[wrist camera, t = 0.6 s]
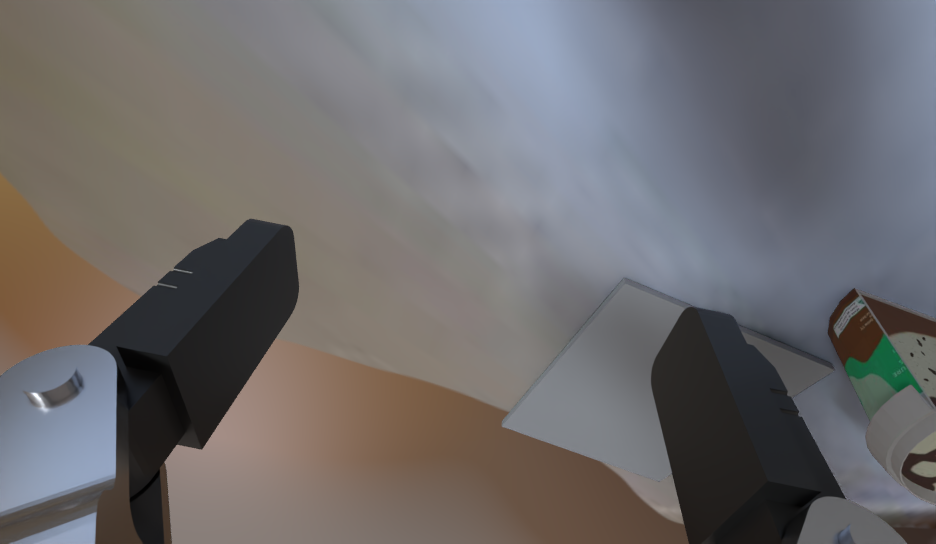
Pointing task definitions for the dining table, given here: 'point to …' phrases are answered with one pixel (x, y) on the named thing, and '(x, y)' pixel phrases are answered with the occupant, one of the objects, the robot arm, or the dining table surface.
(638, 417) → the felt mat
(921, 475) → the food container
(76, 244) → the dining table surface
